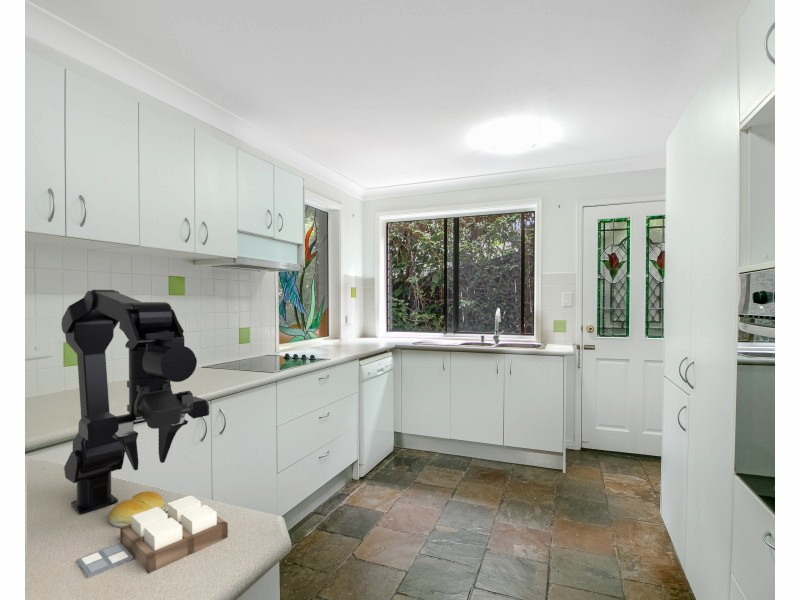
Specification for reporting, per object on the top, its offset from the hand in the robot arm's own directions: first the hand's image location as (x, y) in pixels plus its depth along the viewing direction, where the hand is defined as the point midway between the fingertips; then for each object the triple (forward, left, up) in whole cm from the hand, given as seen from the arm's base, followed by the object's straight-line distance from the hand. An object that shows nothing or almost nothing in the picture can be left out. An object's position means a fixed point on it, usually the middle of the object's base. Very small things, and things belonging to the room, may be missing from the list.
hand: (149, 465), depth 73 cm
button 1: (0, 0, -11) cm, 11 cm away
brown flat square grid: (+3, +3, -13) cm, 14 cm away
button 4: (+6, +6, -11) cm, 14 cm away
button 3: (0, +6, -12) cm, 13 cm away
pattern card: (0, -7, -13) cm, 15 cm away
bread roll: (-11, +2, -13) cm, 18 cm away
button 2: (+6, 0, -11) cm, 13 cm away
